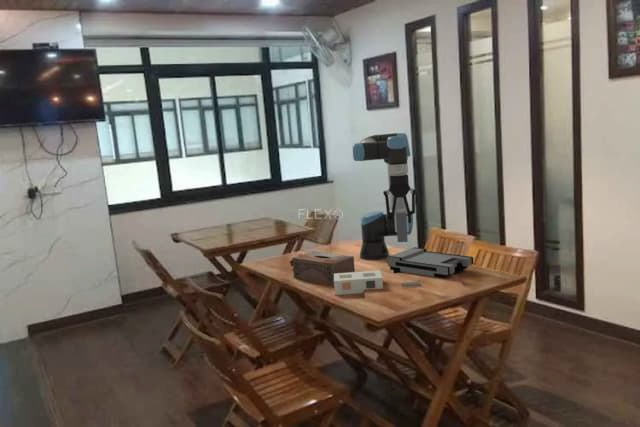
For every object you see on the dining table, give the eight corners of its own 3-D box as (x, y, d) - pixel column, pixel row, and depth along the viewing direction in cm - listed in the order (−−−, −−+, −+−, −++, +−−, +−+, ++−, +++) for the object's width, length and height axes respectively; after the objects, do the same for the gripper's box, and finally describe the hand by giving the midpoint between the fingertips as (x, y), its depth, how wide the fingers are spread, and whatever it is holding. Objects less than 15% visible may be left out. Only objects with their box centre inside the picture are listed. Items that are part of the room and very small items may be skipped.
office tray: (448, 283, 235) (447, 264, 234) (388, 273, 258) (387, 256, 257) (473, 272, 250) (473, 254, 248) (415, 263, 272) (414, 247, 271)
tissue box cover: (355, 277, 256) (353, 256, 254) (333, 285, 245) (332, 263, 244) (315, 270, 273) (313, 251, 272) (294, 278, 263) (292, 257, 262)
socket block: (334, 286, 242) (333, 273, 242) (380, 283, 242) (379, 270, 241) (334, 295, 230) (333, 281, 229) (383, 291, 230) (382, 277, 229)
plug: (397, 240, 231) (396, 209, 229) (407, 239, 231) (405, 208, 228) (397, 242, 227) (395, 210, 225) (407, 241, 227) (405, 210, 225)
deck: (400, 286, 235) (400, 282, 235) (419, 284, 235) (419, 281, 235) (403, 291, 228) (402, 288, 227) (422, 290, 227) (422, 286, 227)
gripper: (377, 176, 222) (380, 234, 226) (420, 174, 220) (423, 232, 223) (378, 175, 230) (381, 230, 233) (420, 172, 227) (422, 228, 231)
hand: (402, 231), depth 228 cm, fingers closed on plug, 4 cm apart
